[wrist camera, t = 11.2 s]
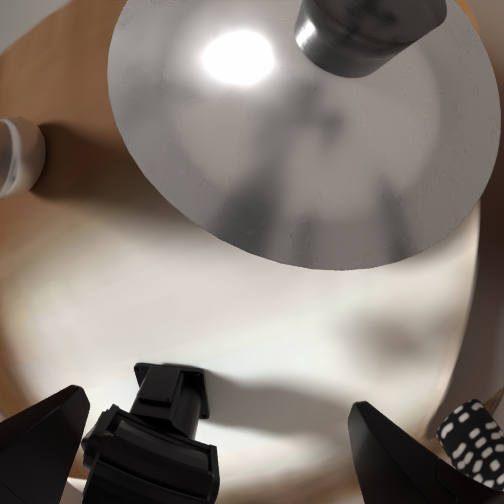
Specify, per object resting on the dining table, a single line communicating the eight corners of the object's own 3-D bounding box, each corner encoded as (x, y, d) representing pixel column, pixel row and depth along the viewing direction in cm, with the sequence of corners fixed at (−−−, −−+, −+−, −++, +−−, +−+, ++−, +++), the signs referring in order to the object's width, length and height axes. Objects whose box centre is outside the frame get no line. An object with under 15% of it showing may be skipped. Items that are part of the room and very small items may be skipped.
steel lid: (482, 259, 12) (553, 298, 6) (121, 261, 12) (43, 322, 6) (450, -22, 7) (495, -54, 1) (148, -58, 7) (117, -112, 1)
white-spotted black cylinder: (479, 413, 27) (530, 492, 7) (438, 443, 28) (481, 530, 9) (479, 389, 25) (544, 480, 6) (433, 425, 26) (486, 528, 7)
